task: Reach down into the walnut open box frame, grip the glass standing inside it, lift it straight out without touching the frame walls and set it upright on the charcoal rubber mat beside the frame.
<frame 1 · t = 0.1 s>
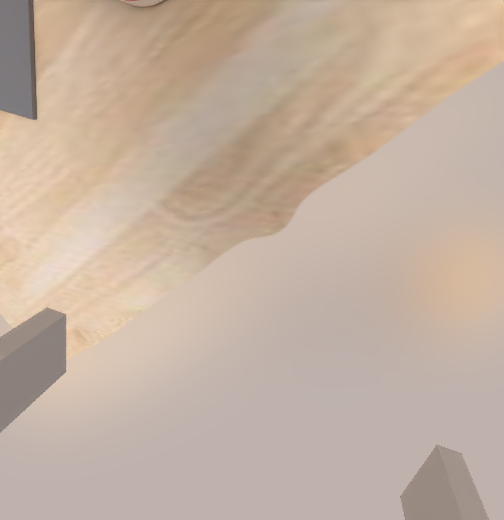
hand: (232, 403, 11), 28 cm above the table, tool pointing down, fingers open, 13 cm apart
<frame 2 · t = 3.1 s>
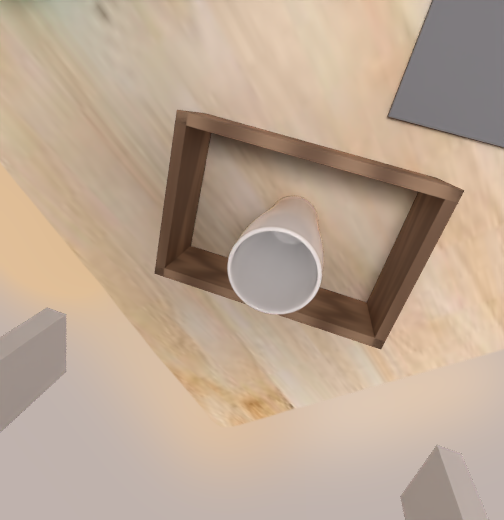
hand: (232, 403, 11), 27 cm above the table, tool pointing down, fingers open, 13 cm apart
drinking glass: (293, 218, 36), resting in walnut open box frame
walnut open box frame: (293, 218, 36), on the table
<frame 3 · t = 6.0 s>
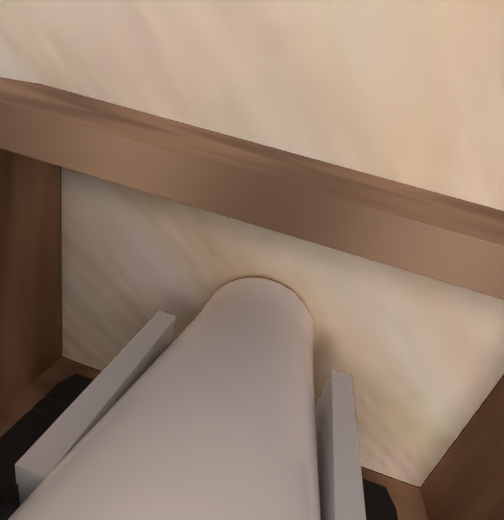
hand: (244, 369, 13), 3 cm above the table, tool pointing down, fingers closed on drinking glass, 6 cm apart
drinking glass: (260, 319, 16), resting in walnut open box frame, touching gripper
walnut open box frame: (259, 321, 16), on the table
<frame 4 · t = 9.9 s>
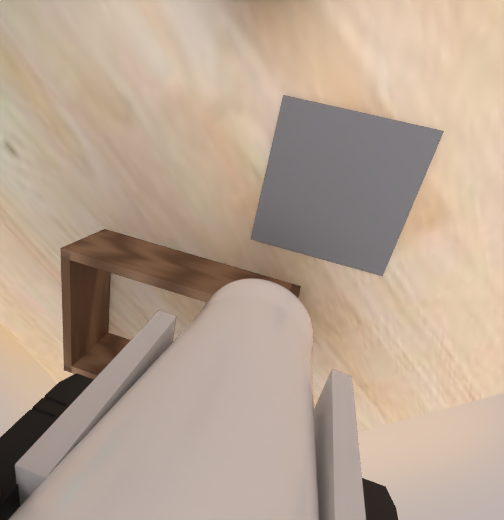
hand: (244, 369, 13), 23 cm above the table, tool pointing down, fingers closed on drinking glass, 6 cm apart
drinking glass: (259, 320, 16), point 19 cm above the table, touching gripper
walnut open box frame: (189, 314, 41), on the table
charcoal mat: (335, 190, 32), on the table
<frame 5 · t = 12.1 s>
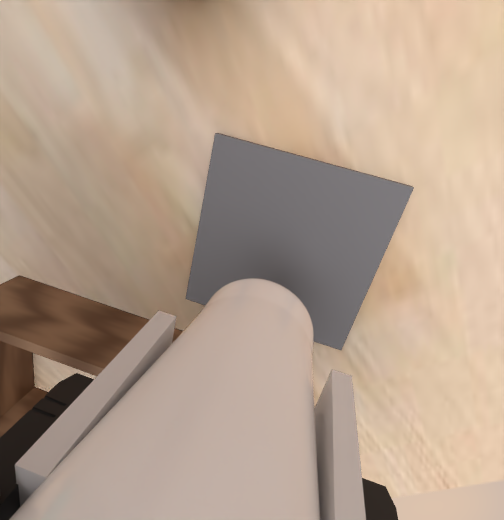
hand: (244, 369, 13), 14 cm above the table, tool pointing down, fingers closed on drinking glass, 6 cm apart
drinking glass: (260, 320, 16), point 10 cm above the table, touching gripper
walnut open box frame: (122, 374, 35), on the table
charcoal mat: (284, 248, 26), on the table
when the fingers open (5 cm above the table, at t = 14.0 s): drinking glass drops 1 cm, resting on charcoal mat.
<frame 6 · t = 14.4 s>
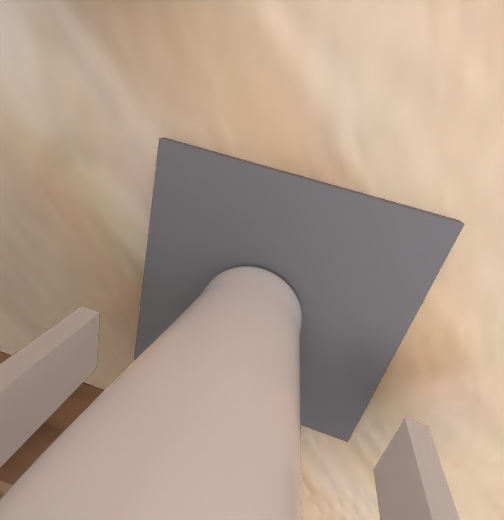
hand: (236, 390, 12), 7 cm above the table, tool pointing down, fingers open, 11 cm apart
drinking glass: (253, 306, 18), resting on charcoal mat
walnut open box frame: (64, 447, 27), on the table
charcoal mat: (267, 303, 18), on the table
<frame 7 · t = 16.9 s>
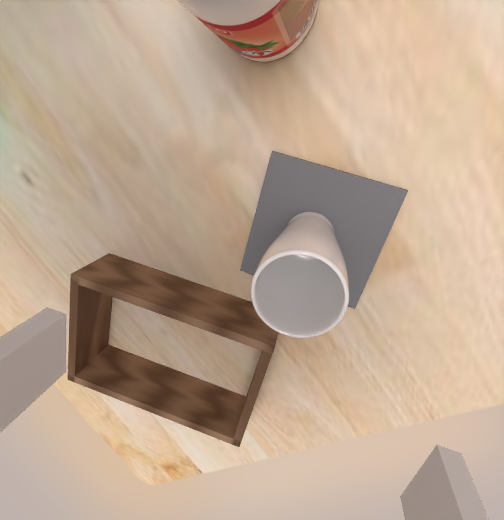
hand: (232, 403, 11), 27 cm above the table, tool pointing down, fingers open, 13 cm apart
fruit juice: (267, 5, 30), on the table
drinking glass: (309, 233, 36), resting on charcoal mat
walnut open box frame: (183, 332, 45), on the table
charcoal mat: (316, 233, 36), on the table
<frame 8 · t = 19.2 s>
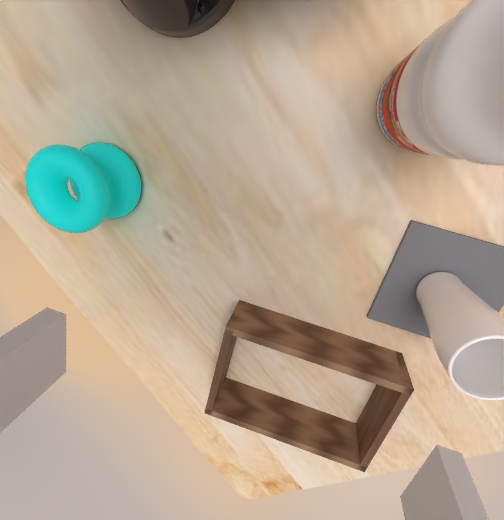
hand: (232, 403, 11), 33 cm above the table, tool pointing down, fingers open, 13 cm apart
fruit juice: (421, 103, 35), on the table
drinking glass: (437, 288, 41), resting on charcoal mat
donuts: (113, 180, 46), on the table
walnut open box frame: (302, 367, 50), on the table
charcoal mat: (442, 287, 41), on the table
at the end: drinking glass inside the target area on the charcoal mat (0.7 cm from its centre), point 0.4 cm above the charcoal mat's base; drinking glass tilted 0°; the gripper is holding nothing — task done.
